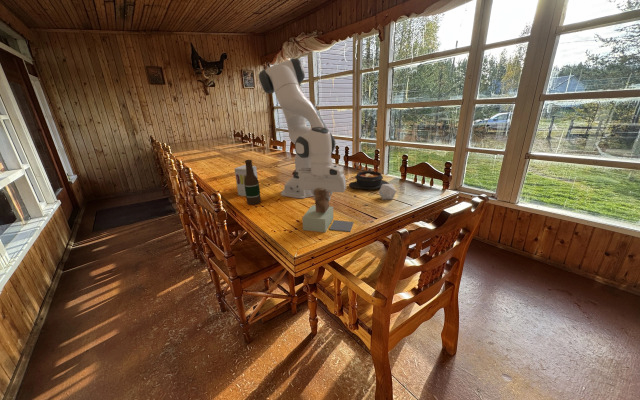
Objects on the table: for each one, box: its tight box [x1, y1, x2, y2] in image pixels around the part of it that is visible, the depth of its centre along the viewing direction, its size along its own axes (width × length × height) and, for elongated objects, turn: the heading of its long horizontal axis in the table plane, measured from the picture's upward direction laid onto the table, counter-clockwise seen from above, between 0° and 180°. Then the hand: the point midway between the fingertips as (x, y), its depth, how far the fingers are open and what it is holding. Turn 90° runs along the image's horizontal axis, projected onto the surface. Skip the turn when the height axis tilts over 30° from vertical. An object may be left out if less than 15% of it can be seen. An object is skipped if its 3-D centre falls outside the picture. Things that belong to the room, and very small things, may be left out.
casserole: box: [348, 170, 390, 190], centre depth 160 cm, size 25×19×8 cm
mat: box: [328, 219, 354, 233], centre depth 112 cm, size 9×9×1 cm
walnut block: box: [314, 188, 330, 213], centre depth 110 cm, size 4×7×10 cm, turn 163°
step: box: [301, 204, 334, 233], centre depth 114 cm, size 10×14×6 cm
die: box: [378, 183, 397, 201], centre depth 140 cm, size 8×9×10 cm
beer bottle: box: [244, 159, 262, 206], centre depth 139 cm, size 8×8×24 cm
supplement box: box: [234, 164, 259, 197], centre depth 155 cm, size 10×9×17 cm
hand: (322, 200), depth 110 cm, fingers closed on walnut block, 4 cm apart
